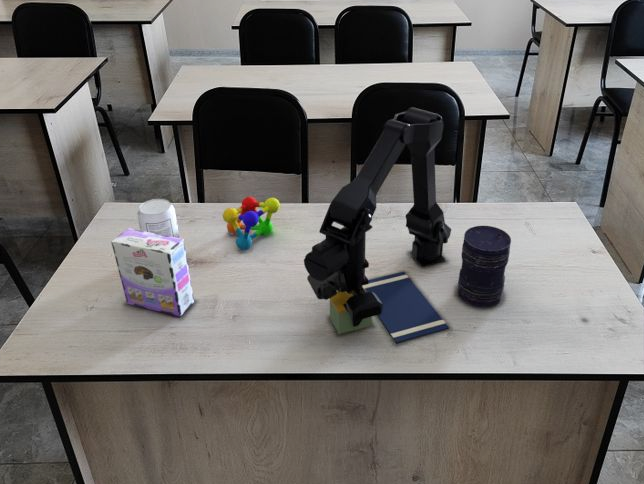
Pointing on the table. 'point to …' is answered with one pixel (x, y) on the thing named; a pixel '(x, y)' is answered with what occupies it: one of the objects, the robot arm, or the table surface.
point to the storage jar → (483, 266)
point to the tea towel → (404, 308)
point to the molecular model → (250, 220)
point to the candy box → (154, 271)
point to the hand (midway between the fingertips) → (350, 317)
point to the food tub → (344, 314)
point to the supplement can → (158, 218)
